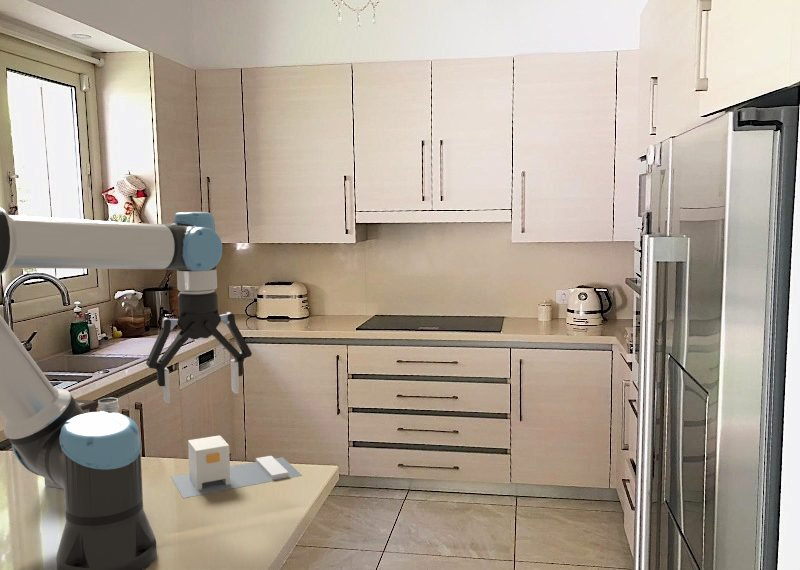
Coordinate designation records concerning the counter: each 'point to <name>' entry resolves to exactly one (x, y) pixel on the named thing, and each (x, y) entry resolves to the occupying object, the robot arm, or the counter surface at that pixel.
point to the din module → (208, 460)
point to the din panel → (240, 476)
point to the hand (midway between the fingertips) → (201, 397)
